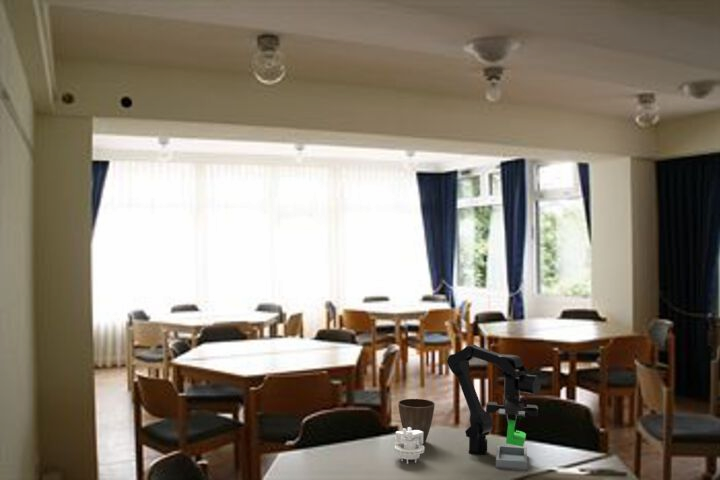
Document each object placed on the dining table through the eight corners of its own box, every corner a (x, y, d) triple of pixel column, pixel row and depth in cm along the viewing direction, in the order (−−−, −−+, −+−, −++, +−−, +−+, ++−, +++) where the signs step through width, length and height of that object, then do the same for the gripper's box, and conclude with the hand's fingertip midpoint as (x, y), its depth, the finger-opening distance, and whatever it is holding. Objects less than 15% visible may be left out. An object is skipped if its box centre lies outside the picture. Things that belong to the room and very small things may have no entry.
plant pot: (399, 435, 268) (399, 397, 268) (434, 437, 266) (435, 399, 266) (396, 446, 253) (396, 406, 253) (434, 448, 251) (434, 408, 251)
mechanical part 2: (523, 446, 229) (525, 424, 229) (506, 443, 232) (508, 421, 231) (526, 437, 241) (528, 416, 241) (510, 434, 243) (512, 413, 243)
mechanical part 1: (400, 467, 229) (400, 434, 229) (390, 456, 241) (390, 425, 241) (429, 464, 232) (429, 432, 232) (417, 454, 244) (418, 423, 244)
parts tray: (495, 467, 230) (495, 459, 230) (497, 453, 246) (497, 445, 246) (527, 470, 227) (527, 462, 227) (526, 455, 244) (526, 447, 244)
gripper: (485, 393, 231) (485, 436, 231) (538, 396, 227) (538, 440, 227) (486, 386, 242) (486, 427, 242) (537, 389, 238) (537, 431, 238)
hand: (511, 431), depth 237 cm, fingers closed on mechanical part 2, 2 cm apart
